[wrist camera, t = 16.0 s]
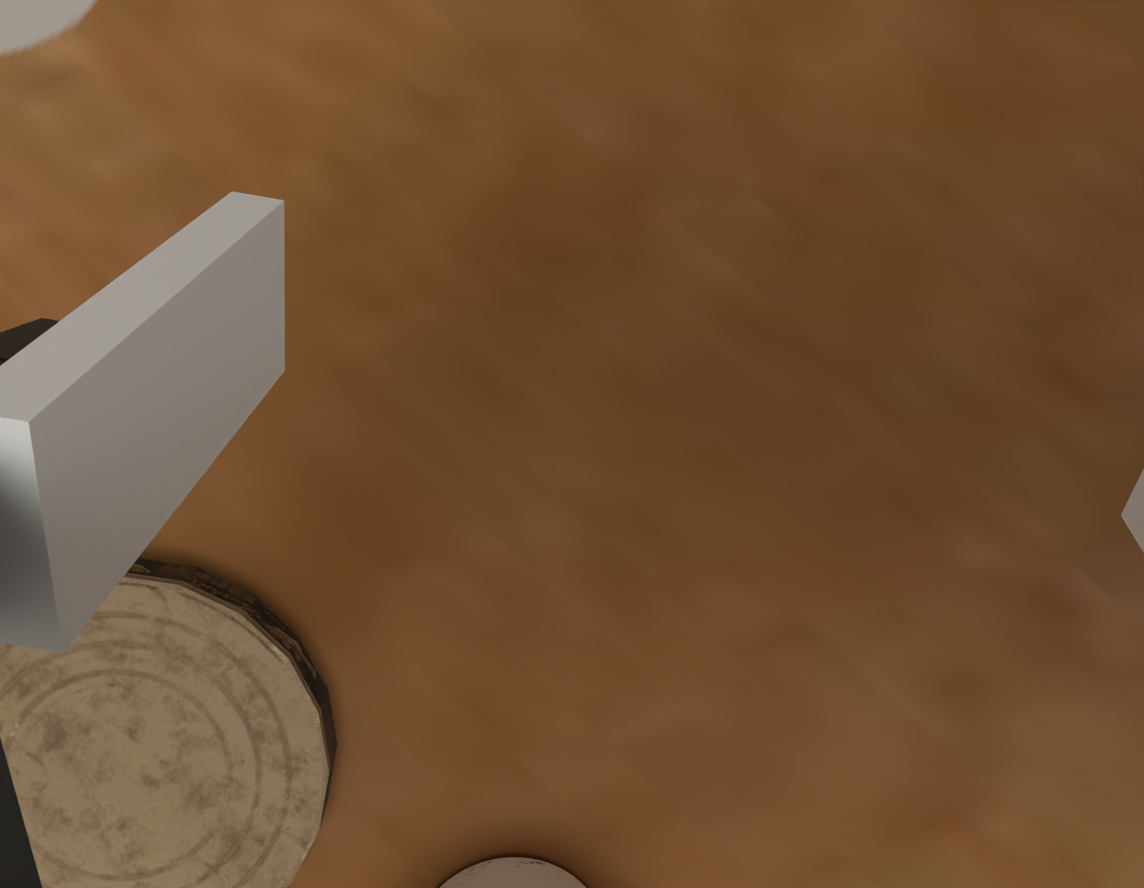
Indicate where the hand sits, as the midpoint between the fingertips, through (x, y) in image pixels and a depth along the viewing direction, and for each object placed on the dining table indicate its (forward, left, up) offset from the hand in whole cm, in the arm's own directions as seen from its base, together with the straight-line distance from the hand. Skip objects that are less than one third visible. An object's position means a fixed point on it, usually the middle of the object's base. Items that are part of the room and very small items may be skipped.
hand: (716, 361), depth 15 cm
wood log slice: (+17, +17, -28) cm, 37 cm away
